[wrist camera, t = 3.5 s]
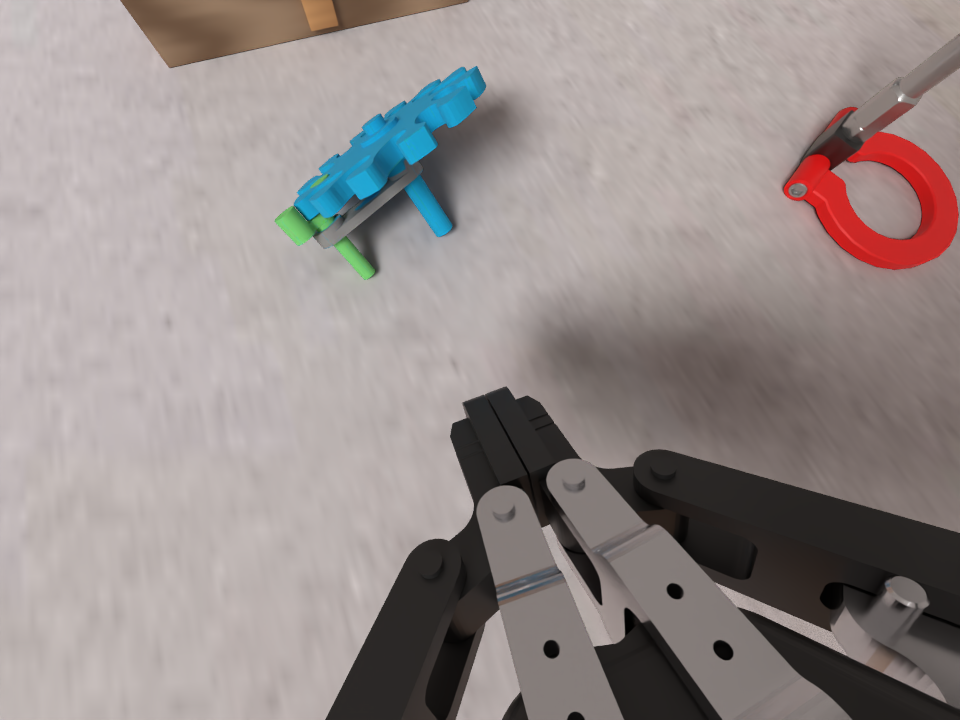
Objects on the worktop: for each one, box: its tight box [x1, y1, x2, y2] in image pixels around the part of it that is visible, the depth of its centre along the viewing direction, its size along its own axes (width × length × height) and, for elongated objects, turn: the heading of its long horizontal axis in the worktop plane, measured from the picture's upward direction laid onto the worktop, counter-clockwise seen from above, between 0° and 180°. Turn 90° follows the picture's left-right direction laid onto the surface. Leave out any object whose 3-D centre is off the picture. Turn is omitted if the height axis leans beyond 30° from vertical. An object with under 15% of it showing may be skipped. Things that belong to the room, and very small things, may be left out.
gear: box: [275, 66, 486, 280], centre depth 20 cm, size 11×6×10 cm
